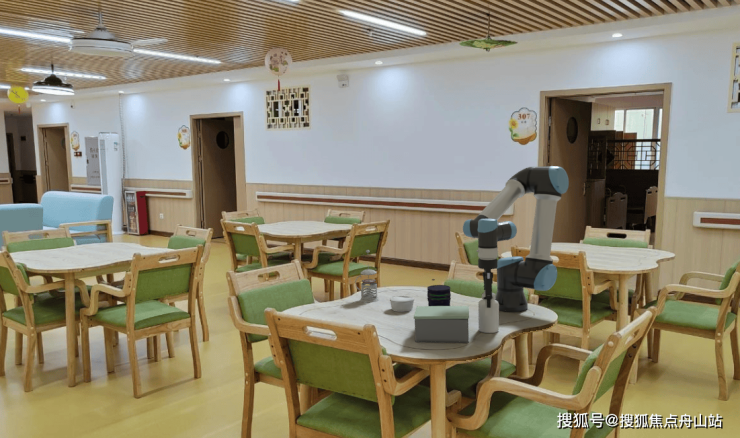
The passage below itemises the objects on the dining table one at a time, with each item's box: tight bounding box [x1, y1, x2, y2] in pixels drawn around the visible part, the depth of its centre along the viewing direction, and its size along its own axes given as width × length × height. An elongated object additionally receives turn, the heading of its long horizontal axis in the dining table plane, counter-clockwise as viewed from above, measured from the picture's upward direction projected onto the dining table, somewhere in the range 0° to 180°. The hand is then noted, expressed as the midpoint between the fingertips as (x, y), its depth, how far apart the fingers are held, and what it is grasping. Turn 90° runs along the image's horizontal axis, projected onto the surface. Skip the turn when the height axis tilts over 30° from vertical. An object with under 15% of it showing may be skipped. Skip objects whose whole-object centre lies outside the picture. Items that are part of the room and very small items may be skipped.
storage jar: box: [426, 278, 452, 306], centre depth 246 cm, size 10×10×18 cm
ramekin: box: [389, 295, 415, 313], centre depth 269 cm, size 11×11×5 cm
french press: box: [354, 249, 380, 303], centre depth 288 cm, size 10×12×25 cm
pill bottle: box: [477, 292, 500, 334], centre depth 232 cm, size 8×8×15 cm
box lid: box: [413, 305, 470, 320], centre depth 226 cm, size 21×15×1 cm
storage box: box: [414, 319, 470, 344], centre depth 227 cm, size 20×14×9 cm
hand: (487, 311), depth 232 cm, fingers open, 13 cm apart
